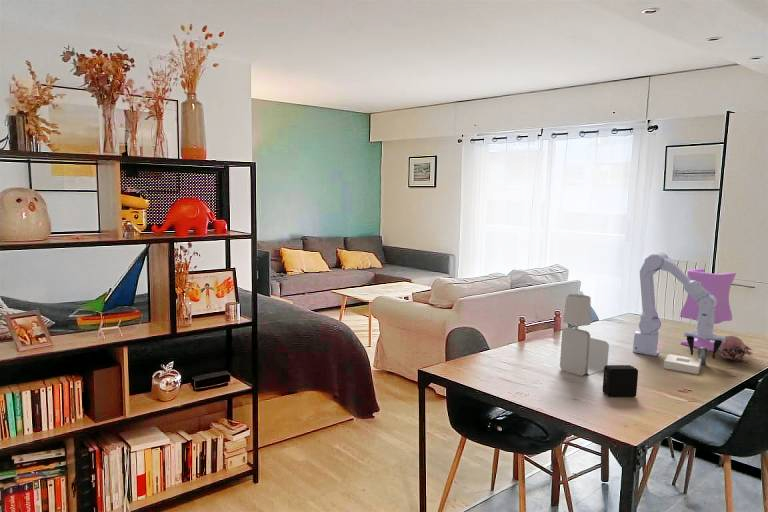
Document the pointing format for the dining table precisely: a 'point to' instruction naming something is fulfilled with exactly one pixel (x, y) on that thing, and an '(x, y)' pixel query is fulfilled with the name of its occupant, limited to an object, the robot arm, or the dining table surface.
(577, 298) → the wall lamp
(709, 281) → the pink table lamp
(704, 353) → the peg
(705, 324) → the robot arm
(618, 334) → the dining table surface
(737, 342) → the toy
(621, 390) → the electronic device
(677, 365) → the socket block
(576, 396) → the dining table surface
